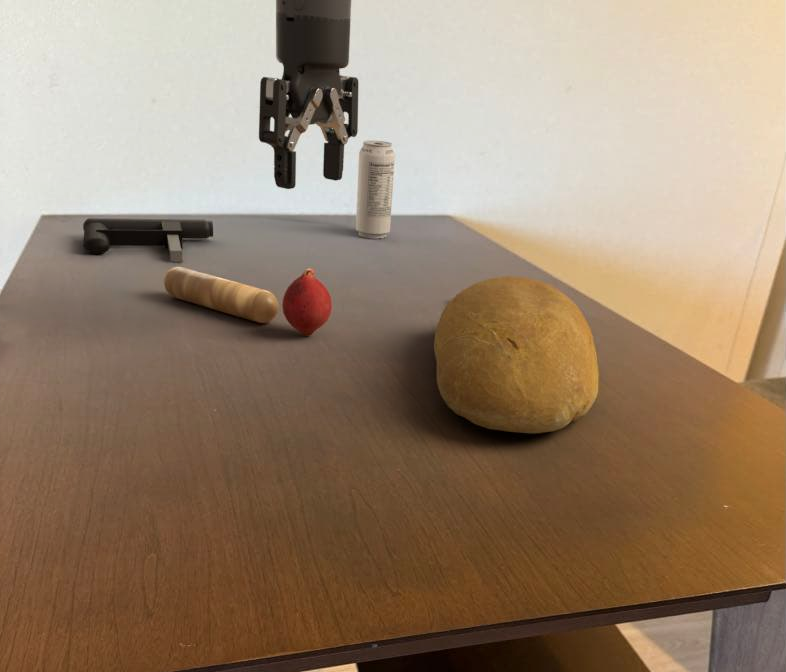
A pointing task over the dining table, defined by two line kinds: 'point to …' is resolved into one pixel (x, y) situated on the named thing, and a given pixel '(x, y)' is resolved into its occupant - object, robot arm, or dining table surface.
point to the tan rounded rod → (221, 294)
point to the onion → (307, 303)
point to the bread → (515, 356)
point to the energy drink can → (374, 189)
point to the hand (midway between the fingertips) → (309, 183)
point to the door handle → (143, 233)
